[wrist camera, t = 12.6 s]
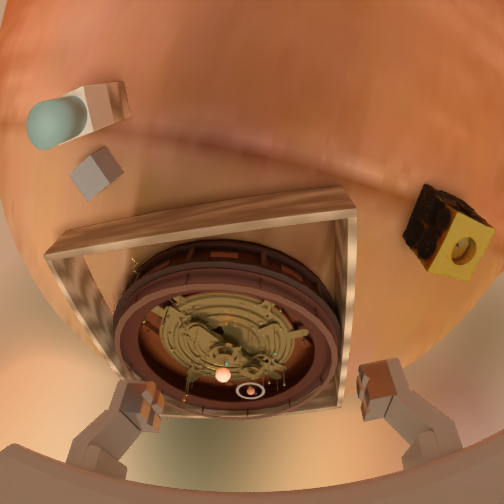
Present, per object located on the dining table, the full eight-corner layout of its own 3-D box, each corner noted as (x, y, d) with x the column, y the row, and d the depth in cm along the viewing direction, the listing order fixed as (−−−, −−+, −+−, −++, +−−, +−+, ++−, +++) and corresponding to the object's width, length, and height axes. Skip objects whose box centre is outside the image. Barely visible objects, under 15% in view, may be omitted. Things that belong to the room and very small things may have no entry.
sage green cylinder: (49, 104, 25) (22, 112, 21) (82, 89, 25) (55, 93, 20) (59, 143, 28) (33, 155, 23) (91, 130, 27) (67, 141, 23)
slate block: (85, 164, 40) (68, 174, 36) (106, 145, 39) (90, 154, 35) (102, 189, 42) (87, 201, 38) (124, 172, 41) (110, 183, 37)
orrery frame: (66, 231, 46) (43, 255, 40) (341, 185, 42) (356, 208, 35) (156, 390, 71) (150, 415, 65) (336, 380, 67) (341, 407, 60)
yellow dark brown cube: (423, 182, 41) (456, 209, 32) (465, 200, 42) (498, 227, 33) (400, 237, 46) (424, 272, 37) (441, 249, 47) (468, 282, 38)
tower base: (91, 93, 34) (71, 97, 30) (123, 81, 34) (105, 83, 29) (99, 127, 37) (80, 135, 32) (131, 117, 37) (114, 123, 32)
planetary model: (219, 171, 41) (205, 203, 31) (372, 334, 59) (386, 379, 49) (82, 309, 57) (60, 349, 47) (227, 404, 74) (224, 442, 64)
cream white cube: (71, 97, 30) (46, 103, 25) (105, 83, 29) (83, 85, 24) (80, 135, 32) (57, 145, 28) (114, 123, 32) (93, 131, 27)
